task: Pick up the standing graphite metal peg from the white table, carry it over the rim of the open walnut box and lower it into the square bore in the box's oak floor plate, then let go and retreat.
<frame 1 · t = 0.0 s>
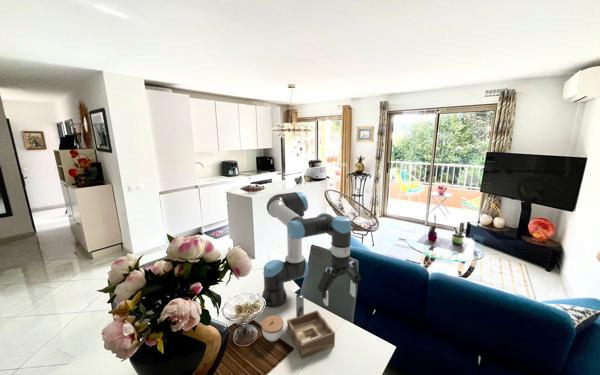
hand: (339, 299, 107), 28 cm above the table, fingers open, 13 cm apart
lidded jar: (273, 337, 123), on the table
peg: (300, 319, 134), on the table
box: (310, 338, 121), on the table
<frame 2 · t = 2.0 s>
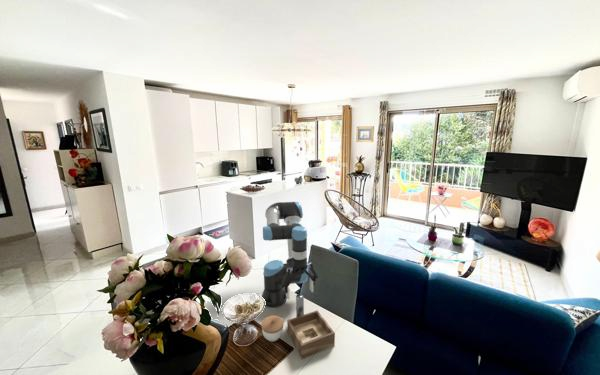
hand: (299, 294, 131), 15 cm above the table, fingers open, 13 cm apart
nothing on the table moved.
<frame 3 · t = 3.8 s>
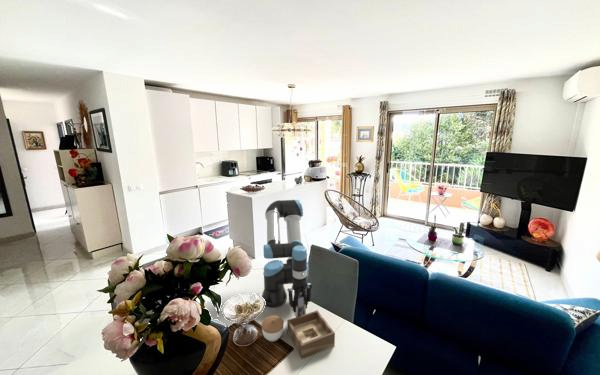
hand: (300, 315, 133), 3 cm above the table, fingers closed on peg, 4 cm apart
peg: (300, 319, 134), on the table, touching gripper
everything else where it was.
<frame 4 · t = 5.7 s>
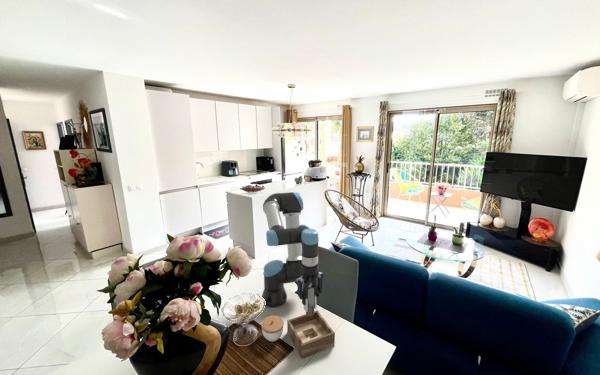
hand: (310, 308, 118), 17 cm above the table, fingers closed on peg, 4 cm apart
peg: (310, 313, 118), point 14 cm above the table, touching gripper
everything else where it was.
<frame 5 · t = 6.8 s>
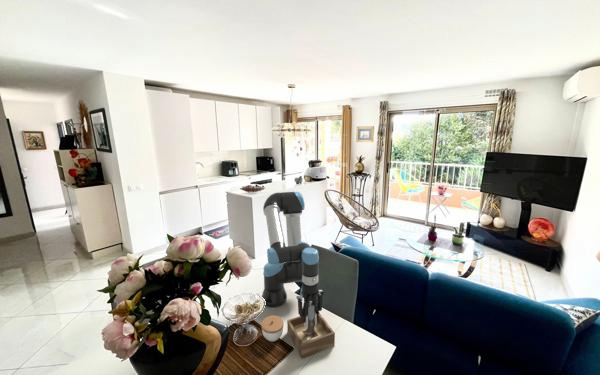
hand: (310, 325, 119), 8 cm above the table, fingers closed on peg, 4 cm apart
peg: (310, 330, 120), point 5 cm above the table, touching gripper
everything else where it was.
when the fingers open (5 cm above the table, at t = 7.6 s): peg drops 2 cm, resting in box.
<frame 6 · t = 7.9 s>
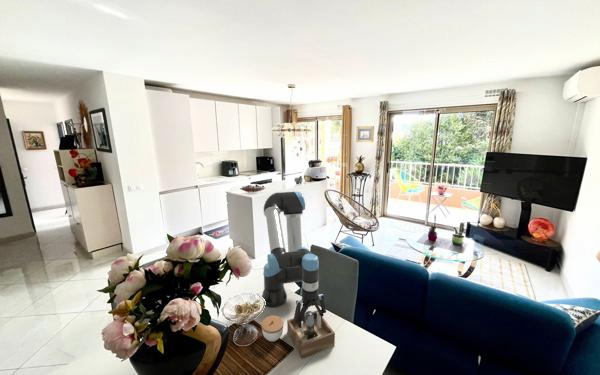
hand: (310, 329, 120), 5 cm above the table, fingers open, 9 cm apart
peg: (310, 338, 121), resting in box
everything else where it was.
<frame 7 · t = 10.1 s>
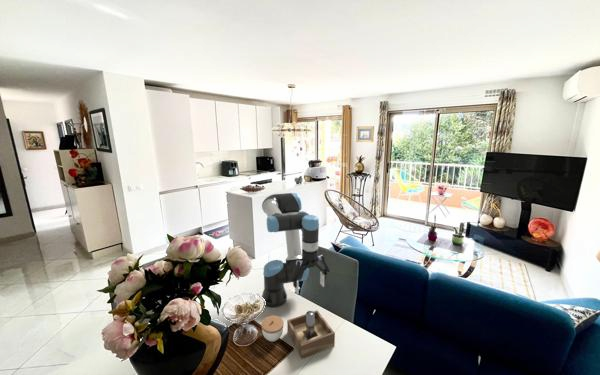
hand: (309, 288, 120), 24 cm above the table, fingers open, 13 cm apart
nothing on the table moved.
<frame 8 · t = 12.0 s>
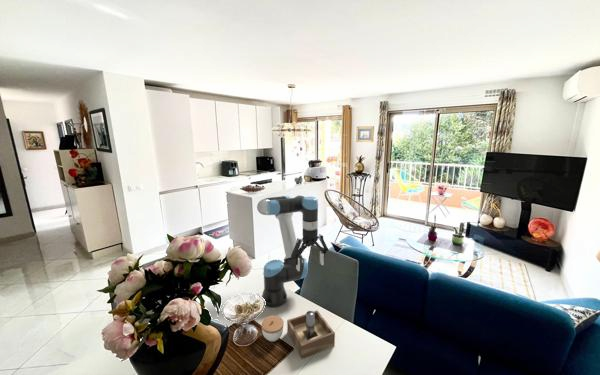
hand: (310, 267, 128), 31 cm above the table, fingers open, 13 cm apart
nothing on the table moved.
at the end: peg 0.1 cm off-centre on the box, point 0.0 cm above the box's base; peg tilted 0°; the gripper is holding nothing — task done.
